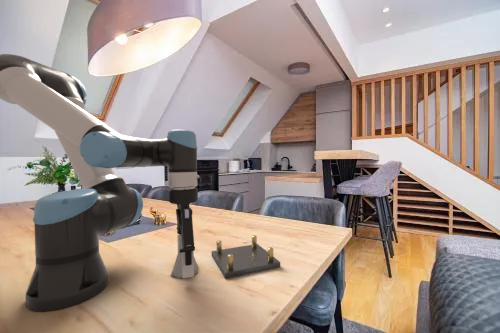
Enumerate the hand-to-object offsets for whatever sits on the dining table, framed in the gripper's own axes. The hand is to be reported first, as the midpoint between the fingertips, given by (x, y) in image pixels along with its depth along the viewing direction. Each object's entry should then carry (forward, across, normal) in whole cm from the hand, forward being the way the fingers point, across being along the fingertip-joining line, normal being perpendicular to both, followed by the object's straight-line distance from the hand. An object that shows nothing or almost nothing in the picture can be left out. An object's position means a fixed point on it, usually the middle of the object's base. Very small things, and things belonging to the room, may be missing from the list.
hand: (185, 265), depth 63 cm
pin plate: (+2, 0, -17) cm, 17 cm away
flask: (+2, 0, 0) cm, 2 cm away
